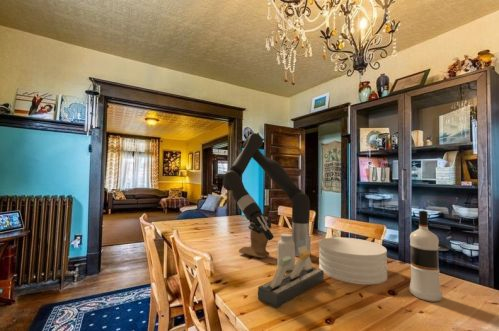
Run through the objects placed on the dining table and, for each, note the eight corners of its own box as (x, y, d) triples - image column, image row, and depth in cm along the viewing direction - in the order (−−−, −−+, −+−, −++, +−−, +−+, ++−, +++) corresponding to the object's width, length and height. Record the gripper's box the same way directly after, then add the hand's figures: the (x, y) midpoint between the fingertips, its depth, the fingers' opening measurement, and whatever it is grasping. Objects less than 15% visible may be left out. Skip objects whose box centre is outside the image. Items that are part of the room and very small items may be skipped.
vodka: (424, 303, 79) (421, 212, 80) (403, 290, 88) (401, 209, 89) (449, 302, 79) (446, 212, 81) (426, 289, 89) (424, 209, 90)
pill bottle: (296, 266, 110) (296, 233, 111) (292, 272, 103) (292, 237, 104) (280, 263, 113) (280, 232, 114) (274, 269, 106) (275, 235, 107)
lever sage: (268, 287, 79) (280, 258, 76) (277, 283, 82) (289, 255, 79) (271, 290, 78) (284, 261, 75) (280, 286, 81) (292, 258, 78)
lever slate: (305, 271, 94) (295, 242, 98) (311, 269, 97) (301, 240, 101) (308, 271, 93) (297, 241, 97) (314, 268, 96) (303, 239, 100)
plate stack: (394, 271, 107) (393, 245, 107) (376, 292, 86) (376, 260, 87) (334, 256, 126) (334, 234, 127) (307, 270, 105) (307, 244, 106)
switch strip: (258, 299, 80) (258, 286, 80) (306, 274, 101) (306, 264, 101) (276, 308, 74) (276, 294, 74) (323, 280, 95) (323, 270, 95)
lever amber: (288, 277, 87) (301, 252, 83) (295, 274, 90) (308, 250, 86) (291, 280, 86) (304, 255, 82) (298, 277, 89) (311, 252, 85)
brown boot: (274, 255, 126) (274, 226, 127) (262, 261, 116) (262, 230, 117) (250, 249, 135) (251, 223, 136) (238, 255, 125) (238, 226, 126)
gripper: (255, 208, 114) (276, 238, 106) (234, 215, 105) (256, 249, 97) (262, 198, 110) (285, 229, 102) (241, 205, 100) (265, 239, 93)
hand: (271, 239), depth 99 cm, fingers closed
